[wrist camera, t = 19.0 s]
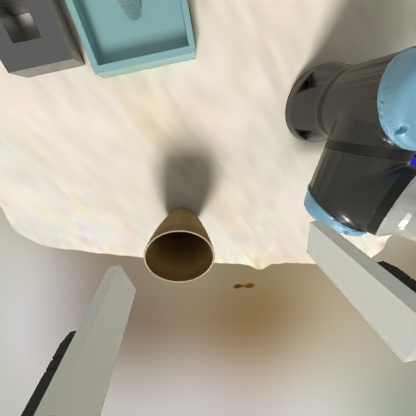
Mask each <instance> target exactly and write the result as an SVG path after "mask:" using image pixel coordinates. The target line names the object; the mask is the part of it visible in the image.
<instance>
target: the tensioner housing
mask: <svg viewBox="0 0 416 416" xmlns="http://www.w3.org/2000/svg"><path fill="white" fill-rule="evenodd" d="M29 12H30V14H31V16H32V19H33V21H34V23H35V25H36V27H37V29H38V31H39V33H40V35H41V37H42V38H37V39H32V40H28V41H27V40H26V38H25V36H24V34H23V32H22V30H21V28H20V26H19V24H18V22H17V21H16V19H15V17H14V16H15V15H20V14H24V13H29ZM0 60H1V61H2V63H3V65H4V66H5V68H6V70H7V71H8V73H11V74H15V75H19V76H24V77H32V76H37V75H41V74H46V73H50V72H55V71H60V70H64V69H69V68H73V67H78V66H83V65H85V63H84V61H83V58H82V56H81V54H80V51H79V49H78V47H77V44H76V42H75V39H74V37H73V35H72V32H71V30H70V28H69V25H68V23H67V21H66V18H65V16H64V13H63V11H62V9H61V6H60V4H59V2H58V0H0Z"/></svg>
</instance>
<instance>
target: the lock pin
mask: <svg viewBox="0 0 416 416" xmlns="http://www.w3.org/2000/svg"><path fill="white" fill-rule="evenodd" d="M117 1H118V2H119V4H120V6H121V7H122V9H123V11H124V13H125V14H126V16H127V17H128V18H129V19H131V20H137V19H139V18H140V16H141V13H142V9H141V4H140V2H139V0H117Z"/></svg>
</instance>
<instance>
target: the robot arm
mask: <svg viewBox="0 0 416 416" xmlns="http://www.w3.org/2000/svg"><path fill="white" fill-rule="evenodd" d="M286 123H287V126H288V128H289V130H290V132H291V133H292V134H293V135H294V136H295V137H296V138H298V139H300V140H304V141H309V142H317V141H322V140H325V139H328V140H327V142H326V145H325V147H324V150H323V152H322V155H321V157H320V160H319V162H318V165H317V167H316V170H315V172H314V175H313V177H312V180H311V182H310V184H309V185H308V189H307V190H308V191H307V194H306V197H305V200H304V205H305V208H306V210H307V212H308V213H309V214H310V215H311V216H312V217H313V218H314V219H315V220H316V221H314V222H310V229H309V237H308V246H307V253H308V254H309V255H310V256H311V258H312V259H313V260H314V261H315V262H316V263H317V264H318V265H319V267H320V268H321V269H322V270H323V271H324V272H325V273H326V275H327V276H328V277H329V278H330V279H331V280H332V281H333V282H334V284H335V285H336V286H337V287H338V288H339V289H340V290H341V292H342V293H343V294H344V295H345V296H346V297H347V298H348V300H349V301H350V302H351V303H352V304H353V305H354V307H355V308H356V309H357V310H358V311H359V312H360V313H361V315H362V316H363V317H364V318H365V319H366V320H367V321H368V322H369V324H370V325H371V326H372V327H373V328H374V329H375V330H376V332H377V333H378V334H379V335H380V336H381V337H382V339H383V340H384V341H385V342H386V343H387V344H388V345H389V346H390V348H391V349H392V350H393V351H394V352H395V353H396V354H397V356H398V357H399V358H400V359H401V360H402V361H403V362H409V361H413V360H416V281H415V280H414V279H411V278H410V276H408V275H407V274H405V273H404V272H403V271H401V270H400V269H399V268H397V267H395V266H393V265H390V264H389V263H386V262H384V261H382V262H377V263H376V262H375V261H374V260H372V259H371V258H370V257H369V256H367V255H366V254H365V253H364V252H362V251H361V250H360V249H358V248H357V247H356V246H355V245H353V244H352V243H351V242H349V241H348V240H347V239H346V238H344V237H343V236H342V235H340V234H339V233H342V232H343V233H344V234H346V235H349V236H361V235H363V234H365V233H367V232H369V233H371V234H374V235H376V236H385V235H391V234H399V235H401V236H404V237H407V238H409V239H411V240H414V241H416V166H414V165H410V162H411V160H412V159H413V157H414V156H415V154H416V46H413V47H410V48H407V49H404V50H403V51H400V52H397V53H394V54H390V55H387V56H384V57H381V58H377V59H374V60H371V61H367V62H364V63H361V64H358V65H354V66H353V65H348V64H344V63H339V62H331V63H326V64H323V65H320V66H317V67H315V68H313V69H311V70H309V71H308V72H307V73H305V74H304V75H303V76H302V77H301V78H300V79H299V80H298V82H297V83H296V84H295V86H294V87H293V89H292V91H291V93H290V95H289V98H288V101H287V105H286ZM338 232H339V233H338ZM135 292H136V289H135V288H134V286H133V285H132V283H131V282H130V280H129V278H128V277H127V275H126V273H125V272H124V270H123V269H122V267H121V265H116V266H112V267H109V268H108V270H107V272H106V274H105V276H104V278H103V280H102V282H101V284H100V286H99V288H98V290H97V292H96V294H95V296H94V298H93V300H92V302H91V304H90V306H89V307H88V309H87V311H86V313H85V315H84V317H83V319H82V322H81V323H80V325H79V327H78V329H77V331H73V332H70V333H69V334H68V335H67V337H66V338H65V339H64V340H63V342H62V343H61V344H60V346H59V348H58V349H57V351H56V353H55V355H54V356H53V360H52V361H51V362H50V364H49V366H48V368H47V369H46V370H47V371H46V372H45V373H44V375H43V377H42V378H41V380H40V382H39V384H38V386H37V387H36V389H35V391H34V393H33V395H32V397H31V398H30V400H29V402H28V404H27V406H26V408H25V409H24V411H23V413H22V415H21V416H100V415H101V411H102V408H103V404H104V401H105V397H106V393H107V390H108V387H109V383H110V380H111V376H112V373H113V369H114V366H115V362H116V359H117V355H118V352H119V348H120V345H121V341H122V338H123V334H124V331H125V327H126V324H127V320H128V317H129V313H130V310H131V306H132V303H133V299H134V296H135Z"/></svg>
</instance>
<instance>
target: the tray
mask: <svg viewBox="0 0 416 416" xmlns="http://www.w3.org/2000/svg"><path fill="white" fill-rule="evenodd" d="M65 1H66V4H67V6H68V9H69V11H70V14H71V16H72V19H73V21H74V23H75V26H76V28H77V31H78V33H79V36H80V38H81V41H82V43H83V45H84V48H85V50H86V53H87V55H88V58H89V60H90V63H91V65H92V67H93V70H94V72H95V74H96V75H98V76H101V77H103V78H109V77H113V76H118V75H122V74H127V73H132V72H136V71H141V70H145V69H150V68H155V67H159V66H164V65H168V64H173V63H178V62H182V61H187V60H191V59H195V56H196V49H195V43H194V37H193V32H192V26H191V20H190V14H189V8H188V2H187V0H139V2H140V4H141V9H142V13H141V16H140V18H139V19H137V20H131V19H129V18H128V17H127V16H126V14H125V13H124V11H123V9H122V7H121V6H120V4H119V2H118V1H117V0H65Z"/></svg>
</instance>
